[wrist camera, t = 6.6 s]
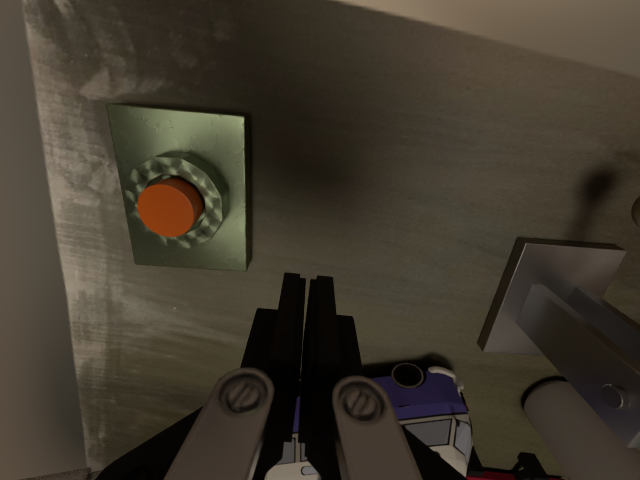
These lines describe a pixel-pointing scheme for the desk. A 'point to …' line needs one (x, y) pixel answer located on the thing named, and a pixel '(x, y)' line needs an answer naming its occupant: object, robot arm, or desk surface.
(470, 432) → the toy car
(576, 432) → the beverage can
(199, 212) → the button
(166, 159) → the button box
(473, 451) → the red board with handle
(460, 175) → the desk surface
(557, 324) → the bracket
